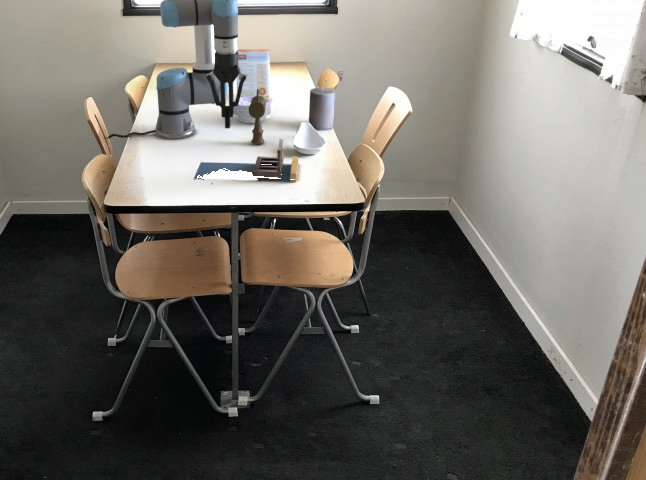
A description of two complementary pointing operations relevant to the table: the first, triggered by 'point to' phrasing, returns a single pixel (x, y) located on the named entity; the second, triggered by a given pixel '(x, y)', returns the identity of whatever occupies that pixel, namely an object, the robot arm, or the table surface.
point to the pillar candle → (321, 108)
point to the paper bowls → (243, 109)
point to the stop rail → (294, 169)
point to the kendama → (257, 117)
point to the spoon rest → (308, 139)
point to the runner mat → (249, 167)
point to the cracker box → (255, 72)
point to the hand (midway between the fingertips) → (227, 126)
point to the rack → (273, 169)
